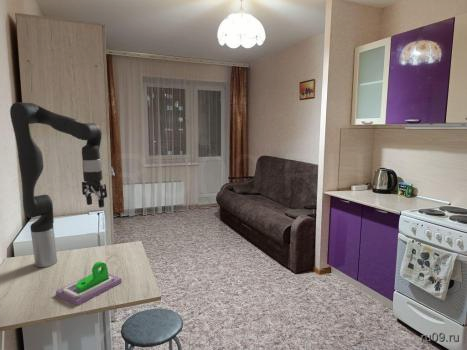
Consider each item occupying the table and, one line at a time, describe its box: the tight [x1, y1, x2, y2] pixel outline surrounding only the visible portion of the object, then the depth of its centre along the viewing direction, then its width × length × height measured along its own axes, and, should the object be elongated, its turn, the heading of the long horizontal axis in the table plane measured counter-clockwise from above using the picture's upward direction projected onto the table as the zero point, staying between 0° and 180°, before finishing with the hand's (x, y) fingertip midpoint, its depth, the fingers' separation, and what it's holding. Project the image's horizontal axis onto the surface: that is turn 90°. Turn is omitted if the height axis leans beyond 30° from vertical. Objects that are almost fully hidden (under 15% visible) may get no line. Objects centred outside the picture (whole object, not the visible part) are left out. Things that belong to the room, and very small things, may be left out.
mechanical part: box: [76, 261, 109, 293], centre depth 130 cm, size 12×6×8 cm, turn 147°
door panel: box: [55, 272, 123, 306], centre depth 132 cm, size 14×20×3 cm
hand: (95, 205), depth 143 cm, fingers open, 8 cm apart
